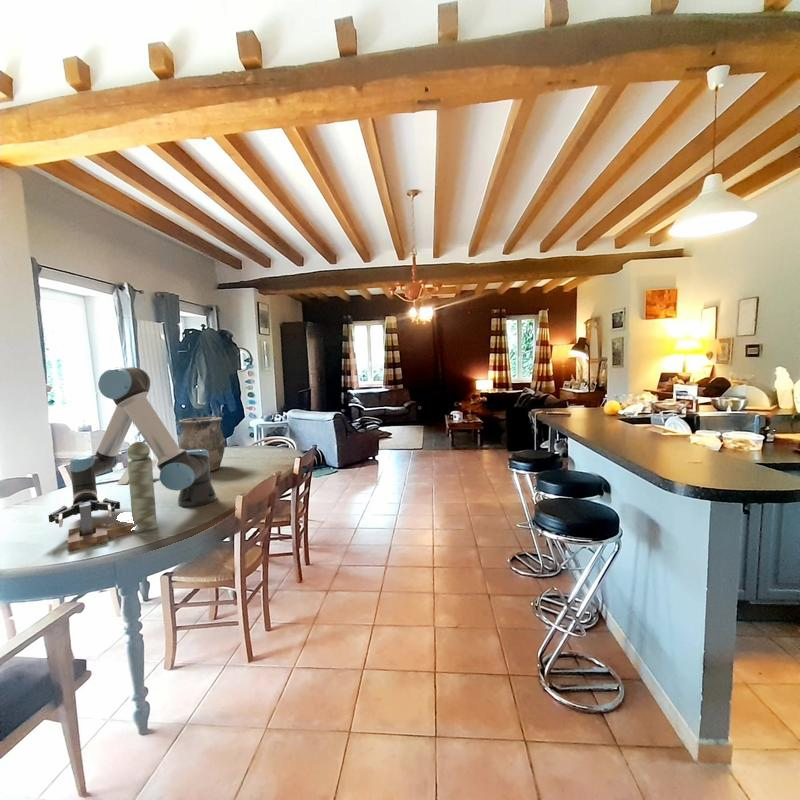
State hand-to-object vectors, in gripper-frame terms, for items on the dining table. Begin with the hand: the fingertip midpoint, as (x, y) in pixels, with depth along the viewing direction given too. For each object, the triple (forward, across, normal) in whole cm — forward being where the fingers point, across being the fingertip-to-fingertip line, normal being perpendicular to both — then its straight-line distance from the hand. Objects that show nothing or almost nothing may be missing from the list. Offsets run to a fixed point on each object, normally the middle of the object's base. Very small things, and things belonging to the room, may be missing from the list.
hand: (86, 518), depth 141 cm
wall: (-78, -22, -9) cm, 82 cm away
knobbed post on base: (-3, -8, -9) cm, 12 cm away
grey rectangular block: (-3, 0, -9) cm, 10 cm away
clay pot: (-77, -54, -9) cm, 95 cm away
